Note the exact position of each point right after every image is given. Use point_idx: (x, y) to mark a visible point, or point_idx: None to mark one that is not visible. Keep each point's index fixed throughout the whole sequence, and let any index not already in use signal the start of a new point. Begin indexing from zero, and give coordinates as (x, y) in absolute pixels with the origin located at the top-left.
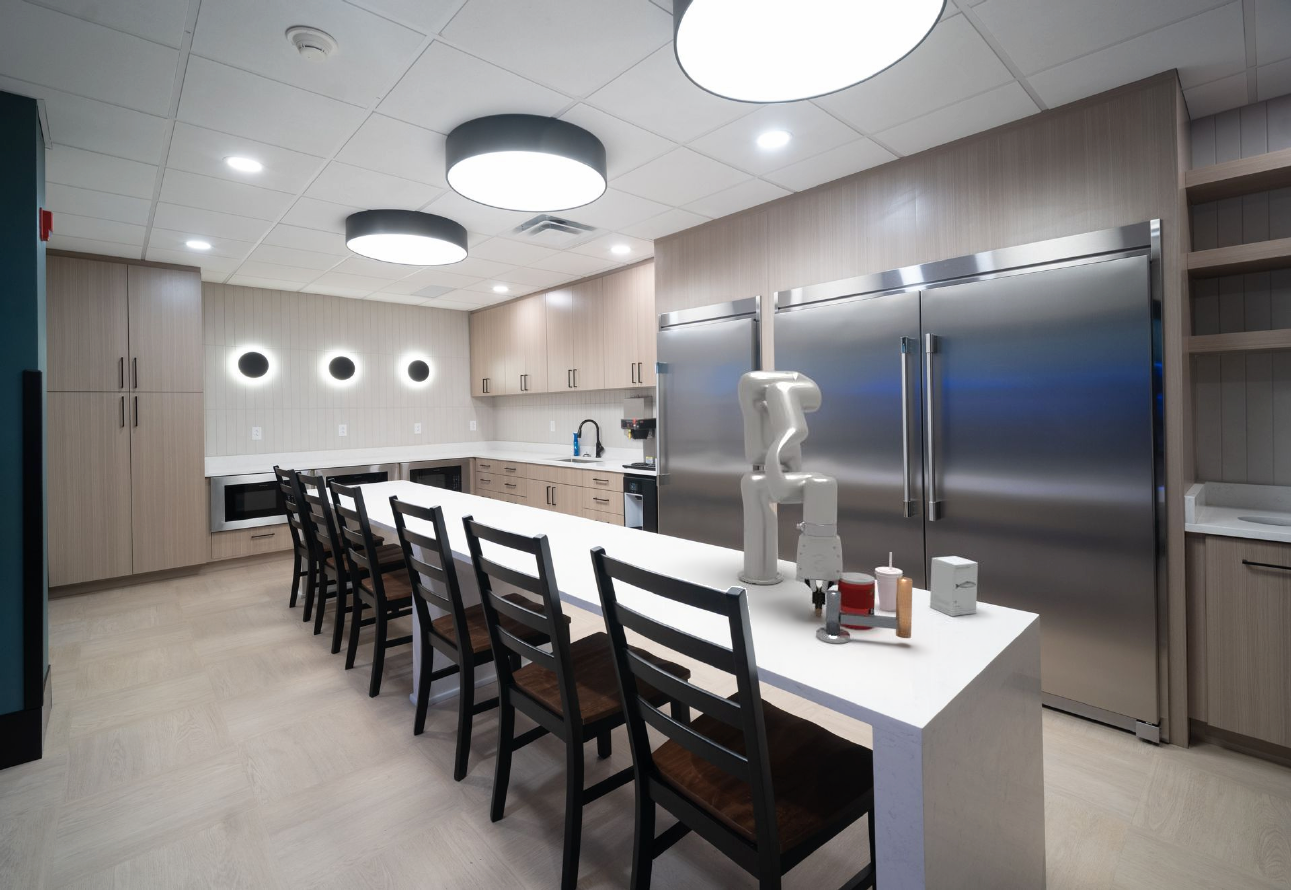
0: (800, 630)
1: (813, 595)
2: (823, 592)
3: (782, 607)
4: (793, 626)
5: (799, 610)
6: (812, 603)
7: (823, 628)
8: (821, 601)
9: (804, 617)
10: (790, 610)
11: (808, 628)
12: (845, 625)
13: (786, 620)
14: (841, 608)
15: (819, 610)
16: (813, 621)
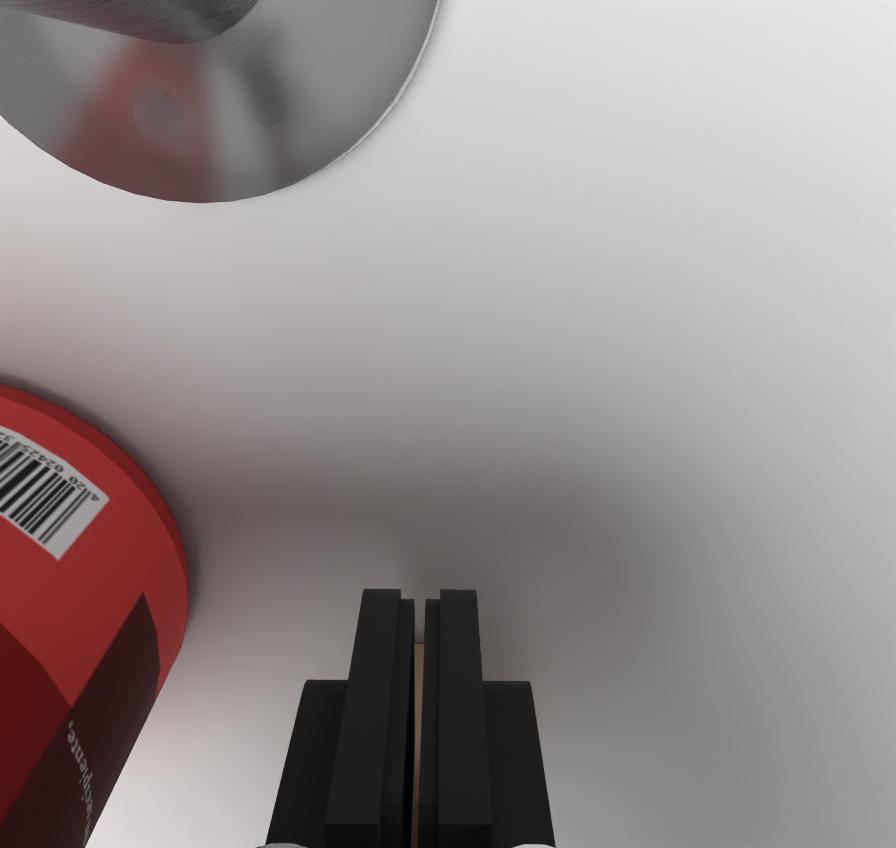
0: (675, 123)
1: (522, 796)
2: (298, 846)
3: (818, 819)
4: (760, 261)
5: (637, 783)
6: (523, 681)
7: (336, 102)
8: (363, 672)
9: (592, 605)
10: (738, 762)
11: (556, 240)
12: (73, 423)
13: (828, 456)
14: (23, 577)
15: (415, 704)
16: (487, 508)
